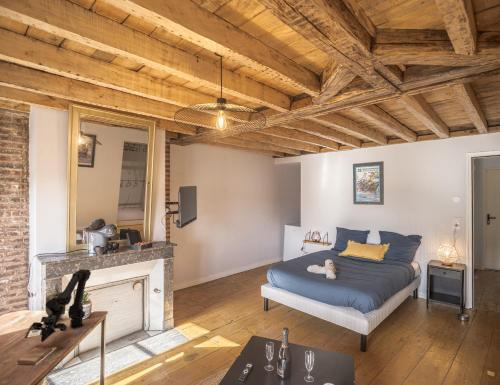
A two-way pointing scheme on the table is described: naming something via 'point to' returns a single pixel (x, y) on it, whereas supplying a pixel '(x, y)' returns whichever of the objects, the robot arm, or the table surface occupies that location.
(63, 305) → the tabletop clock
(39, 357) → the walnut tile
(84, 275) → the robot arm
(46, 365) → the table surface
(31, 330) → the chocolate bar
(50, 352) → the white mat
